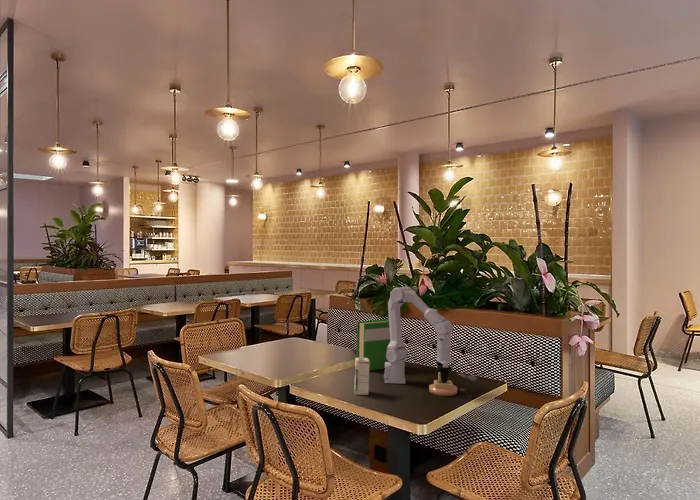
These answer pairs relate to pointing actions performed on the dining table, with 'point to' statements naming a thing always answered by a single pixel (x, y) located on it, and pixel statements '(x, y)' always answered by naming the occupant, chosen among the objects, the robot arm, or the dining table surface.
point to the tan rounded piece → (443, 388)
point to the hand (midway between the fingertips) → (443, 380)
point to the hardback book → (373, 342)
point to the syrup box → (361, 376)
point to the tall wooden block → (440, 379)
